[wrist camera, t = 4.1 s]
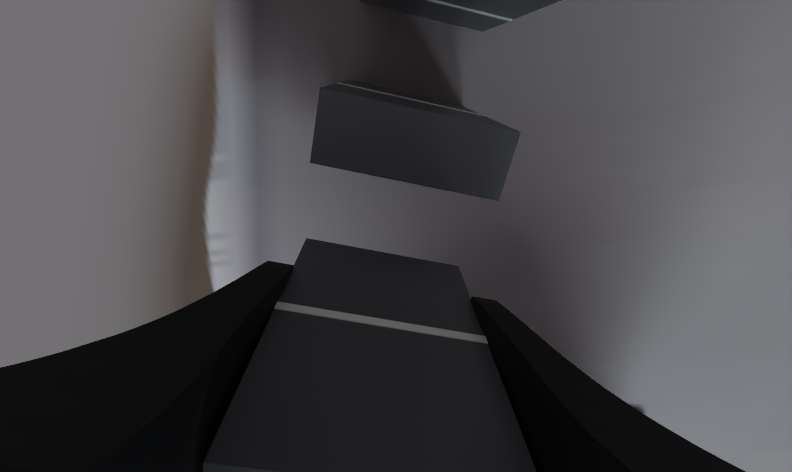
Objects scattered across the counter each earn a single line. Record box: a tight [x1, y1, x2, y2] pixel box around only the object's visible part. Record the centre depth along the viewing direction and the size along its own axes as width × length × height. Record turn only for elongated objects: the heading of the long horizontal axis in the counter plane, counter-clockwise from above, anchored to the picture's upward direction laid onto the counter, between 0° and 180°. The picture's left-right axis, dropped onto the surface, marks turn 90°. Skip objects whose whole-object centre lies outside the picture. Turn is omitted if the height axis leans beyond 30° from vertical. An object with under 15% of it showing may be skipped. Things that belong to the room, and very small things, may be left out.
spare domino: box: [203, 238, 536, 472], centre depth 9 cm, size 2×4×7 cm, turn 78°
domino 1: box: [310, 81, 520, 201], centre depth 12 cm, size 2×4×7 cm, turn 78°
